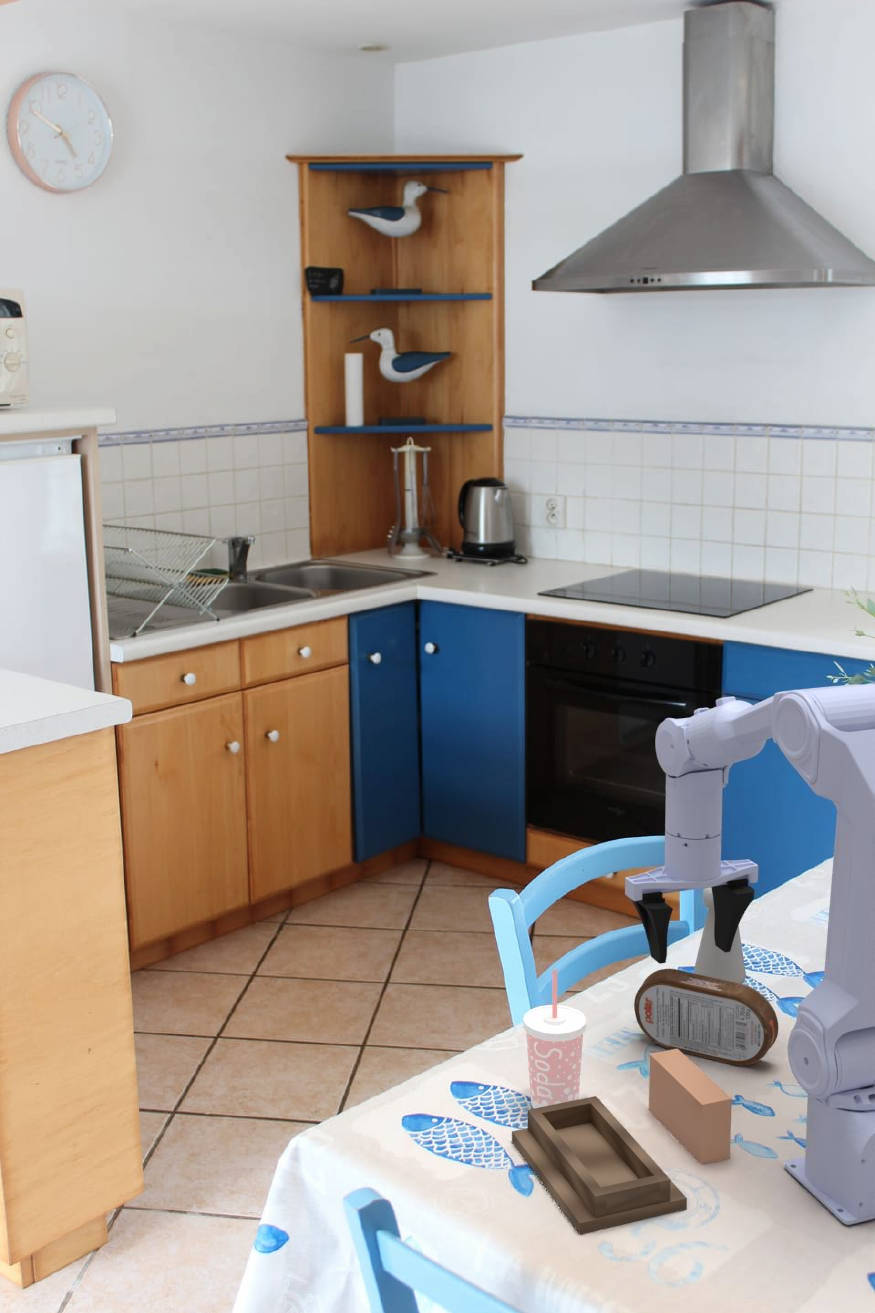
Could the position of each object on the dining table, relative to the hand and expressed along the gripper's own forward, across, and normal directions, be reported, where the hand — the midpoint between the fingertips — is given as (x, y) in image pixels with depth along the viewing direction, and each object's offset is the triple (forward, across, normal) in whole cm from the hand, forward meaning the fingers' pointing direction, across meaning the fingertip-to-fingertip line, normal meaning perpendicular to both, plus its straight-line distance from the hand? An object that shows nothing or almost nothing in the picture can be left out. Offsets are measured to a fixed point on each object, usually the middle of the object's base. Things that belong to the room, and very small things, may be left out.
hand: (690, 954), depth 143 cm
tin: (+10, 0, +2) cm, 11 cm away
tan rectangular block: (+10, +9, +16) cm, 21 cm away
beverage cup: (+10, +18, +6) cm, 22 cm away
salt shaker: (+10, -9, -10) cm, 17 cm away
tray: (+10, +20, +19) cm, 29 cm away
